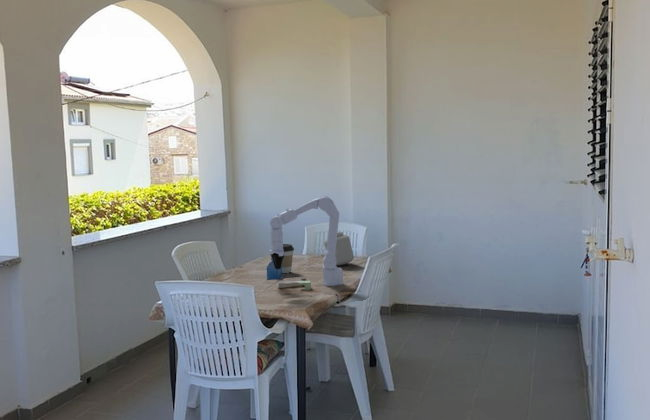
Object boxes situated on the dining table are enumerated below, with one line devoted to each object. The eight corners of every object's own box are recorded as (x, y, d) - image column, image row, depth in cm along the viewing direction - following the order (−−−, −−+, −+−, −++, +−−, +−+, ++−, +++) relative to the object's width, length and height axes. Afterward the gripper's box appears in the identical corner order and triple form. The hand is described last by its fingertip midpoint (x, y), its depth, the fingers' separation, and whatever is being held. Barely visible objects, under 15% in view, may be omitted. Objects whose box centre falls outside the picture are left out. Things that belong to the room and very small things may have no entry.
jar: (319, 267, 345) (318, 223, 342) (323, 262, 359) (322, 220, 357) (352, 267, 342) (352, 223, 339) (355, 262, 356) (354, 220, 354)
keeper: (299, 287, 289) (299, 280, 289) (311, 287, 288) (310, 280, 288) (298, 290, 285) (297, 282, 284) (309, 290, 284) (309, 282, 284)
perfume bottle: (271, 277, 321) (270, 254, 320) (282, 277, 319) (281, 255, 318) (267, 279, 315) (266, 256, 314) (278, 280, 313) (277, 257, 312)
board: (309, 286, 298) (309, 276, 297) (321, 293, 282) (321, 283, 281) (272, 289, 291) (272, 280, 291) (281, 297, 275) (281, 287, 275)
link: (306, 284, 296) (306, 280, 295) (308, 285, 292) (308, 281, 292) (276, 286, 291) (276, 282, 290) (278, 288, 287) (278, 284, 287)
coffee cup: (277, 270, 339) (276, 243, 338) (297, 270, 337) (296, 243, 335) (271, 274, 328) (270, 246, 327) (291, 274, 326) (291, 247, 324)
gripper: (265, 239, 299) (266, 266, 300) (272, 243, 285) (273, 272, 287) (279, 238, 301) (279, 265, 303) (287, 242, 288) (287, 270, 289)
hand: (277, 268), depth 295 cm, fingers closed
